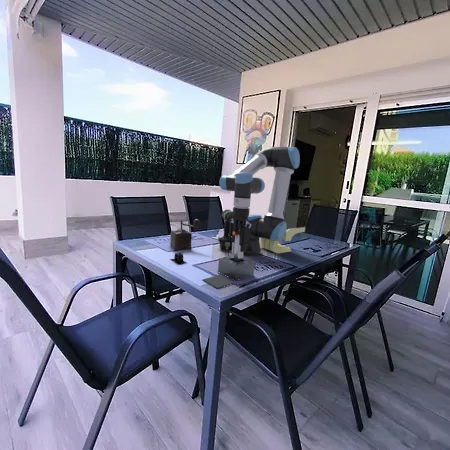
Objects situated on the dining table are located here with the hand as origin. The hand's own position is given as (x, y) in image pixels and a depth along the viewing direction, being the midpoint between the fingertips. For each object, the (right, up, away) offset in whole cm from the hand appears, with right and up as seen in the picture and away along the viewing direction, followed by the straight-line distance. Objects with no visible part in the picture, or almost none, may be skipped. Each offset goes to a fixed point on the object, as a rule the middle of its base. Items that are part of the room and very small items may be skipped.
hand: (237, 256), depth 122 cm
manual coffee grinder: (-31, +1, +39) cm, 50 cm away
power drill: (-5, -1, +39) cm, 39 cm away
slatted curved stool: (+27, -2, +48) cm, 55 cm away
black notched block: (-30, -5, +13) cm, 33 cm away
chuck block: (-1, -8, +2) cm, 8 cm away
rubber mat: (-8, -10, -9) cm, 16 cm away
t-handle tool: (0, -5, +1) cm, 5 cm away
